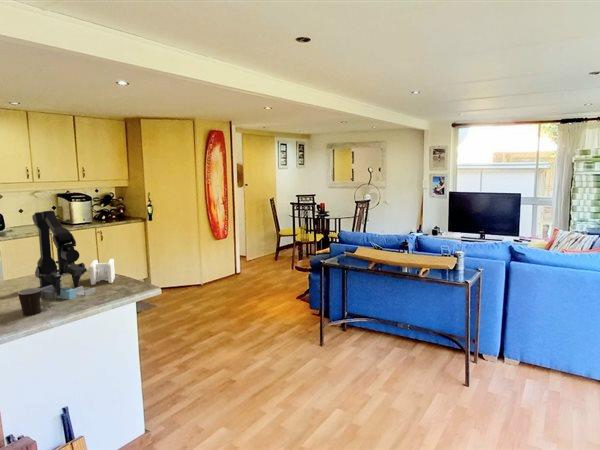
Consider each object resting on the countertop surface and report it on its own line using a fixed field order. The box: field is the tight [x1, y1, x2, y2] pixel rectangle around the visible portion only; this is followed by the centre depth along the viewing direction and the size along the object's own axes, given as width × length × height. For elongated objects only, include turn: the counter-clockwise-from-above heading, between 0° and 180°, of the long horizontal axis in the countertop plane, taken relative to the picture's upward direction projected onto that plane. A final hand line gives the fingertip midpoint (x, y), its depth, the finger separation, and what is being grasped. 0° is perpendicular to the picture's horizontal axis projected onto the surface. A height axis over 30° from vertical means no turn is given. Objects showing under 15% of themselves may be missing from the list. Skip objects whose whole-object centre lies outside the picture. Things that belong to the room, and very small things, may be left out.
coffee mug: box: [17, 287, 42, 317], centre depth 180 cm, size 12×9×10 cm
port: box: [41, 282, 65, 301], centre depth 202 cm, size 11×12×6 cm
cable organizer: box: [88, 258, 116, 286], centre depth 225 cm, size 15×11×12 cm
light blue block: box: [59, 286, 77, 300], centre depth 199 cm, size 6×4×6 cm, turn 70°
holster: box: [74, 285, 96, 296], centre depth 206 cm, size 9×6×3 cm
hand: (67, 290), depth 199 cm, fingers open, 9 cm apart
